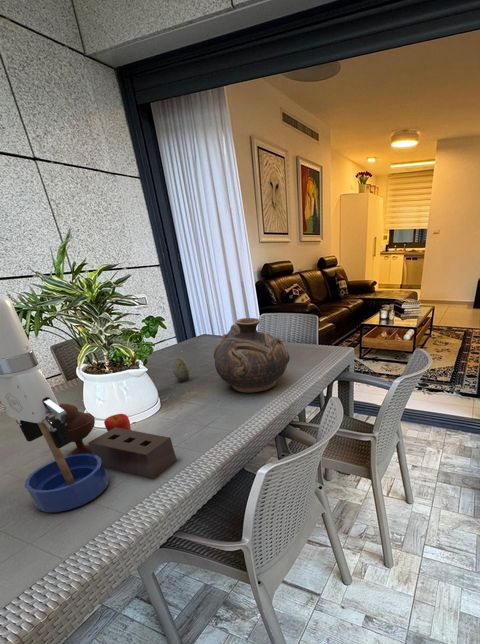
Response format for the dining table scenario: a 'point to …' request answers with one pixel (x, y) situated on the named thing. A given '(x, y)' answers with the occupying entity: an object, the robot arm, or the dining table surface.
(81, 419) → the ice cream bowl
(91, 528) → the dining table surface
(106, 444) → the block
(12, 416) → the robot arm
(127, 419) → the apple
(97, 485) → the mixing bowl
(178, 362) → the decorative egg
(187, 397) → the dining table surface
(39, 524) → the dining table surface
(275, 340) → the vessel
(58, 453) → the cooking stick
